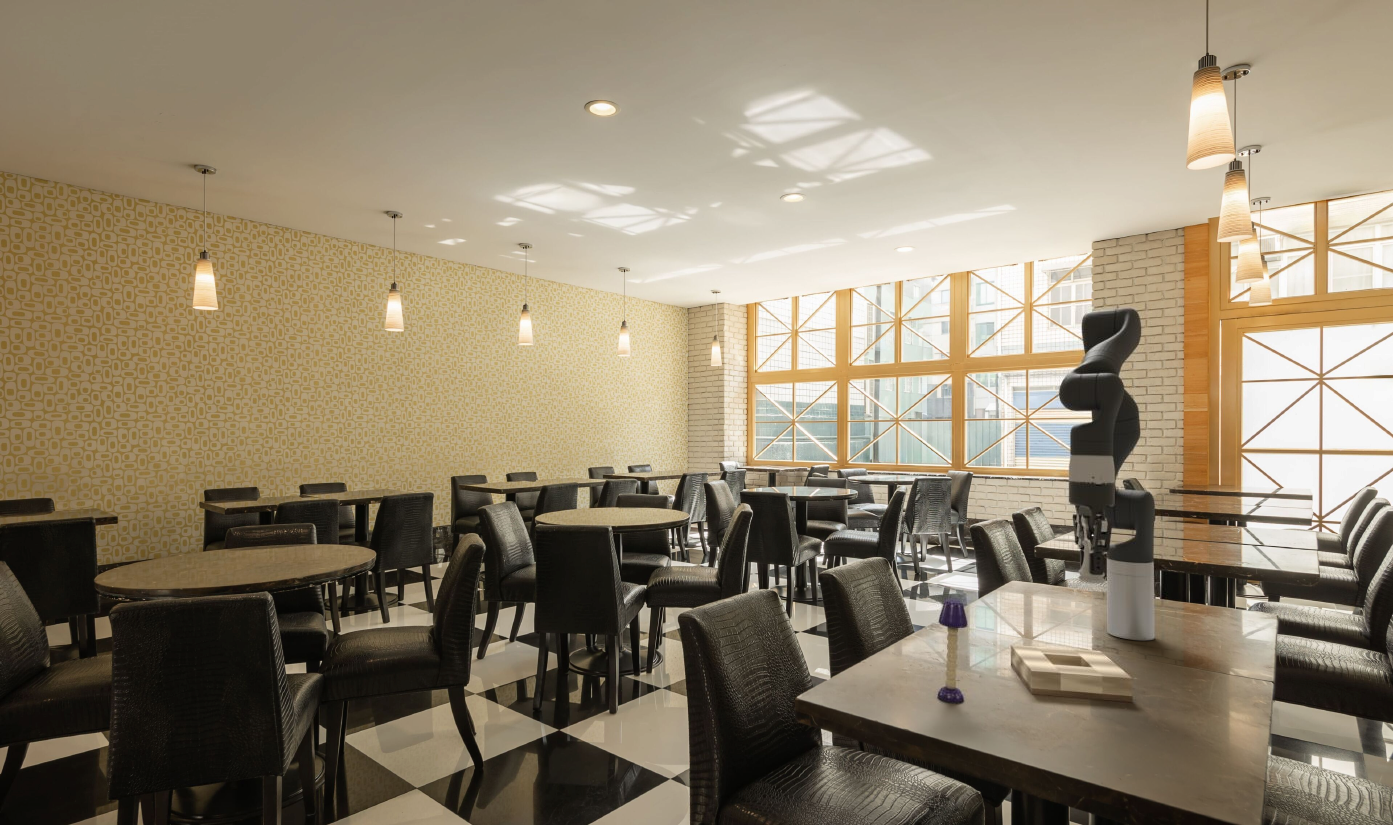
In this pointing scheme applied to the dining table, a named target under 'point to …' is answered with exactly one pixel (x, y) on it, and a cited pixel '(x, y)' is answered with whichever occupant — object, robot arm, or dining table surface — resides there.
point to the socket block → (1071, 673)
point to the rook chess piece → (1084, 570)
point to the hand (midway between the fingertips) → (1091, 571)
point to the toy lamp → (952, 647)
